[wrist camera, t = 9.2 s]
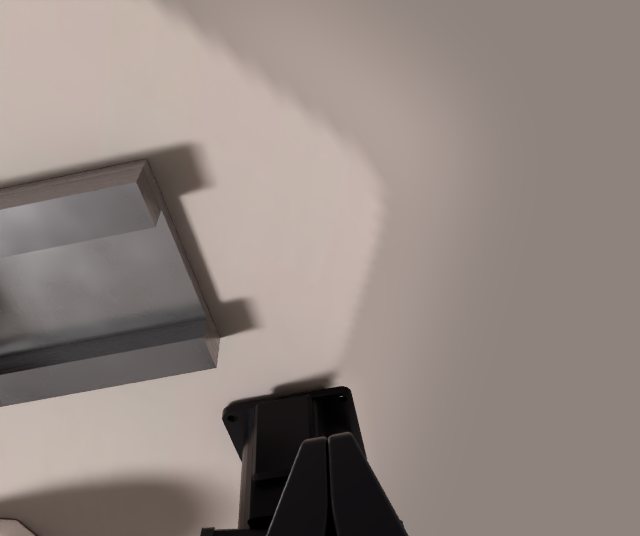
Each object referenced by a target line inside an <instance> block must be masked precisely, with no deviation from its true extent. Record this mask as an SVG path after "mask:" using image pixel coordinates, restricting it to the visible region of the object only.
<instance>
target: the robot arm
mask: <svg viewBox="0 0 640 536" xmlns="http://www.w3.org/2000/svg"><path fill="white" fill-rule="evenodd" d="M340 396H343V397H340ZM222 420H223V422H224V424H225V427H226V429H227V431H228V433H229V435H230V438H231V440H232V442H233V444H234V446H235V448H236V451H237V453H238V455H239V457H240V459H241V461H242V472H241V488H240V504H239V520H238V529H218V530H215V527H211V528H202V530H201V535H200V536H408V534H407V532H406V530H405V529H404V525H403V522H402V521H401V520H400V519H399V517H398V516H397V514H396V512H395V510H394V509H393V507H392V505H391V503H390V501H389V500H388V498H387V496H386V494H385V492H384V490H383V489H382V487H381V485H380V483H379V481H378V479H377V478H376V476H375V474H374V472H373V471H372V469H371V467H370V465H369V463H368V461H367V457H366V453H365V449H364V444H363V440H362V436H361V432H360V427H359V423H358V419H357V415H356V410H355V406H354V402H353V397H352V394H351V390H350V389H349V388H347V387H344V386H339V387H334V388H328V389H322V390H317V391H311V392H305V393H300V394H294V395H288V396H283V397H277V398H271V399H266V400H260V401H254V402H249V403H243V404H237V405H231V406H228V407H226V408H225V409H224V410H223V415H222Z"/></svg>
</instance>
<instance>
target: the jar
mask: <svg viewBox="0 0 640 536" xmlns="http://www.w3.org/2000/svg"><path fill="white" fill-rule="evenodd" d="M0 536H35V535H34V534H33V533H32V532H30V531H29V530H28V529H27V528H25V527H24V526H23V525H22V524H21V523H19V522H18V521H16V520H5V519H0Z"/></svg>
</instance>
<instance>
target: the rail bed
mask: <svg viewBox="0 0 640 536" xmlns="http://www.w3.org/2000/svg"><path fill="white" fill-rule="evenodd" d="M219 343H220V337H219V335H218V332H217V330H216V328H215V325H214V323H213V320H212V318H211V315H210V313H209V310H208V308H207V306H206V303H205V301H204V298H203V296H202V293H201V291H200V288H199V286H198V284H197V281H196V279H195V276H194V274H193V271H192V269H191V266H190V264H189V261H188V259H187V257H186V254H185V252H184V249H183V247H182V244H181V242H180V239H179V237H178V235H177V232H176V230H175V227H174V225H173V222H172V220H171V217H170V215H169V213H168V210H167V208H166V205H165V203H164V200H163V198H162V195H161V193H160V190H159V188H158V186H157V183H156V181H155V178H154V176H153V173H152V171H151V168H150V166H149V164H148V161H147V159H144V160H139V161H134V162H129V163H124V164H119V165H115V166H110V167H105V168H100V169H95V170H90V171H86V172H81V173H76V174H71V175H66V176H61V177H57V178H52V179H47V180H42V181H37V182H32V183H28V184H23V185H18V186H13V187H8V188H3V189H0V407H2V406H8V405H13V404H19V403H24V402H30V401H35V400H41V399H46V398H52V397H58V396H63V395H69V394H74V393H80V392H85V391H91V390H96V389H102V388H107V387H113V386H118V385H124V384H129V383H135V382H141V381H146V380H152V379H157V378H163V377H168V376H174V375H179V374H185V373H190V372H196V371H201V370H207V369H212V368H216V367H217V359H218V351H219Z"/></svg>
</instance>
